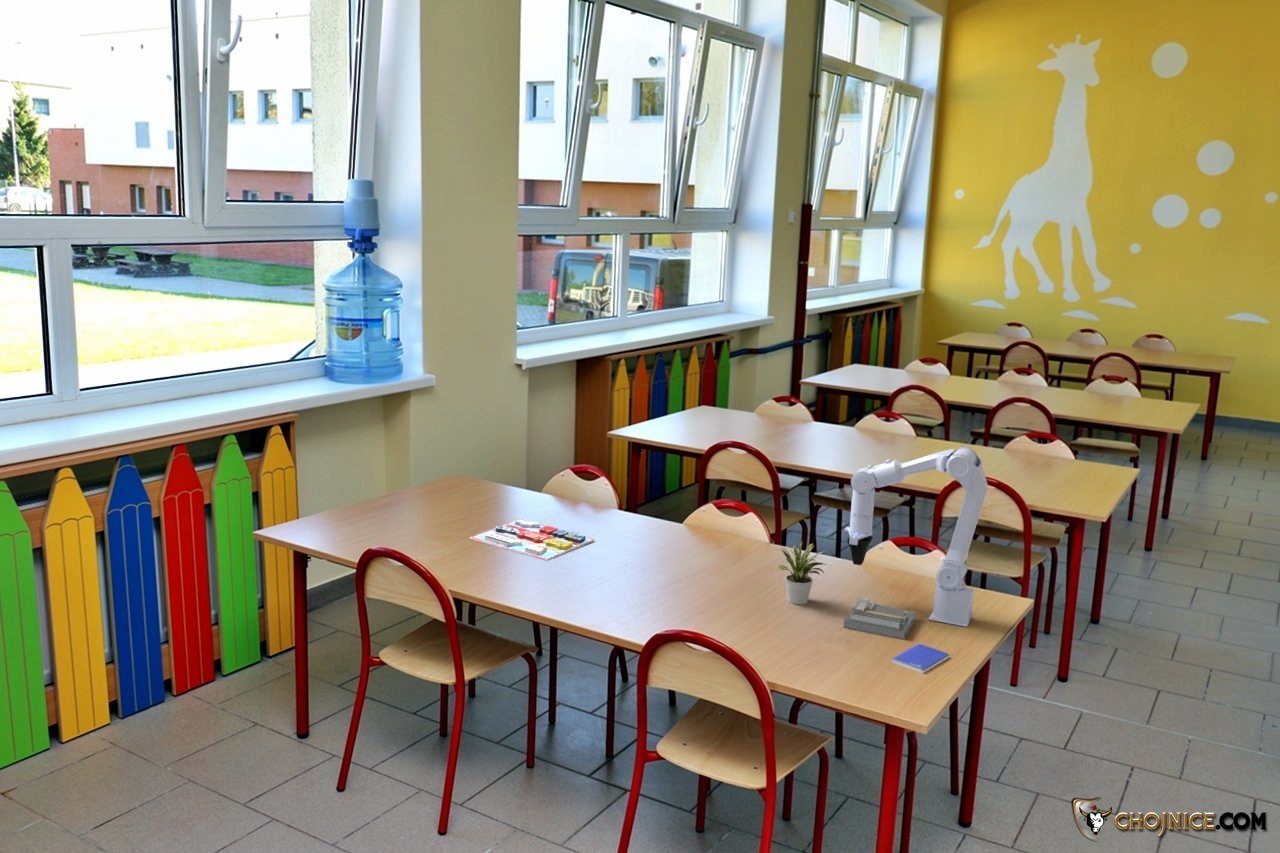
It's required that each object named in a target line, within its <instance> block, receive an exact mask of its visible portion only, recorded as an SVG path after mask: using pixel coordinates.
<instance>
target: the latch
mask: <svg viewBox="0 0 1280 853" xmlns="http://www.w3.org/2000/svg"><path fill="white" fill-rule="evenodd" d="M856 603H857V606H856V608H855V610H860V611H864V610H869V608H870V603H871V597H869V596H863V595H858V597H857V598H856Z"/></svg>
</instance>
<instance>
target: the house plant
mask: <svg viewBox="0 0 1280 853" xmlns="http://www.w3.org/2000/svg"><path fill="white" fill-rule="evenodd" d="M802 545H803V541H801V542H800V544H799V546H798V547H799V548H798V549H797V547H796V546H795V544H792V546H793V549H792V548H790V547H789V546H788V545H786V547H787V548H788V549H790V550H791V552H792V556H793V558H794V560H793V558H792V557H791V555H790V553H789V552H788V551H787V549H786V548H785V547H783V546H781V547H782V548H781V547H780V548H779V549H777V548H775V550H777V551H780V552H781V553H782V554H783V555H784V556H785V557H786V558H785V561H787V563H788V564H789V565H790V566H791V568H792V570H790V569H789V567H787V566H785V565H782V564H780V565H778V567H777V570H778V571H789V573H790V574H787V575H786V576H785V587H786V596H787V602H788V603H791V604H793V605H798V606H799V605H806V604H807V603H808V601H809V597H810V596H809V595H810V593H811V588H812V583H813V581H814V580H813V578H812V577H811V576H809V574H817V575H819V576H821V574H820V572H821V573H823V574H824V573H825V572H824V570H823V569H821V568H819V567H816V566H819V565H825V566H828V564H826V563H823V562H818V561H816V559H820V557H818V555H819V554H821V553H824V552H826V550H825V551H820V552H817V553H816V554H815V555H813V556H812V557H811V558H808V557H809V555H810V554H811V551H812V549H813V548H815V545H814V542H813V543H811V544H810V543H809V545H808V546H807V547H806V549H805V550H804V552H803V553H802ZM812 561H813V562H812ZM815 561H816V562H815ZM794 562H795V563H794Z"/></svg>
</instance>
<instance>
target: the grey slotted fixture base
mask: <svg viewBox="0 0 1280 853" xmlns="http://www.w3.org/2000/svg"><path fill="white" fill-rule="evenodd" d="M856 606H857V602H856V603H855V604H854V606H853V607H852V609H851V610H850V611H849V613H848V614H847V615H846V616H845V618H844V619H843V628H846V629H850V630H857V631H861V632H866V633H870V634H875V635H880V636H885V637H886V636H887V637H891V638H896V639H901V640H905V638H906V637H907V635H908V634H909V632H910V630H911V629H912V627H913V625H914V623H915V622H916V620H917V616H918V615H917V611H913V610H910V609H909V610H908V609H905V608H904V609H902V608H897V607H893V606H888V605H882V604H878V601H877V600H874V602H872V603H871V602H870V608H869V610H870V611H875V612H880V613H885V614H890V615H895V616H900V618H896V617H891V616H886V615H881V614H876V613H870V612H865V611H860V610H855V608H856Z"/></svg>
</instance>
